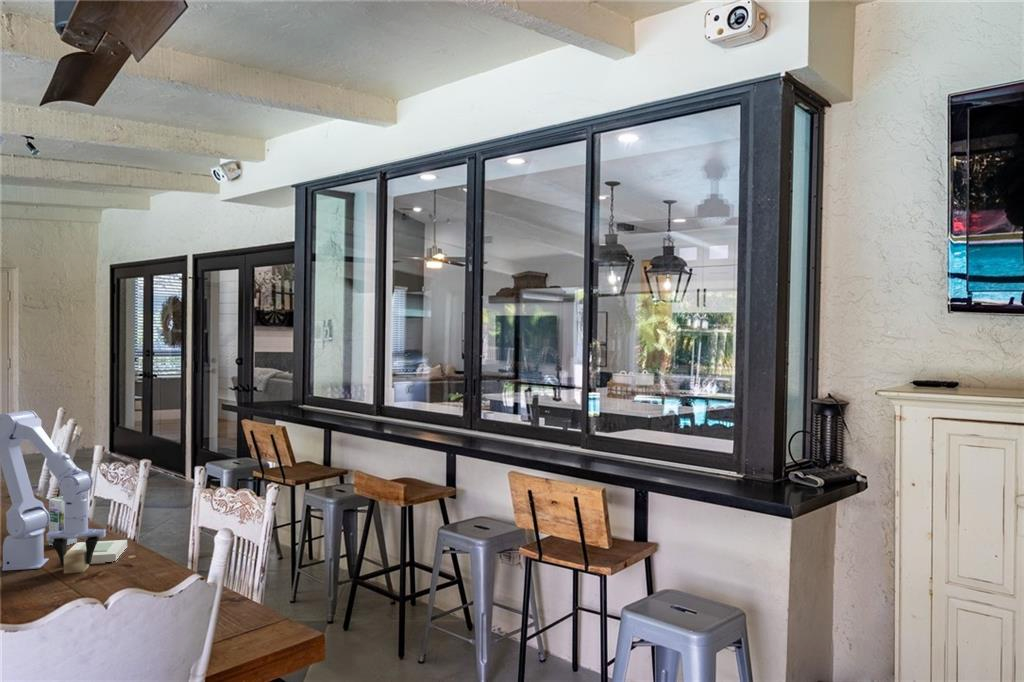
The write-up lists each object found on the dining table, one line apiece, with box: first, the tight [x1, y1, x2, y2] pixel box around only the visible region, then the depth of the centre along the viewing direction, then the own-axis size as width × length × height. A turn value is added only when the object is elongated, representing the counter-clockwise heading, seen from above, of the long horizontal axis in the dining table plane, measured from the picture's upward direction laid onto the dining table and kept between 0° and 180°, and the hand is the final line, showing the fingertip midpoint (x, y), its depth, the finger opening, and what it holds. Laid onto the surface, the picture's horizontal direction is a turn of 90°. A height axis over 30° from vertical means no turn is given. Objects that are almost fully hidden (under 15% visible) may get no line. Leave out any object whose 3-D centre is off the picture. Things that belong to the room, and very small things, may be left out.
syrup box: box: [48, 495, 78, 547], centre depth 236 cm, size 6×6×14 cm
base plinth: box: [66, 539, 128, 565], centre depth 225 cm, size 14×14×3 cm
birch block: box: [63, 549, 90, 574], centre depth 213 cm, size 5×5×5 cm
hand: (76, 563), depth 213 cm, fingers open, 6 cm apart
